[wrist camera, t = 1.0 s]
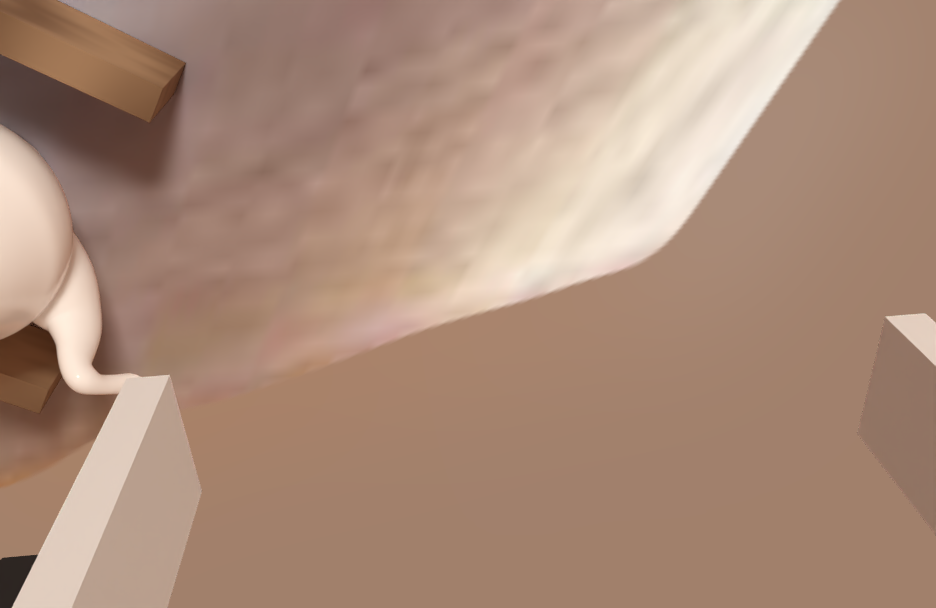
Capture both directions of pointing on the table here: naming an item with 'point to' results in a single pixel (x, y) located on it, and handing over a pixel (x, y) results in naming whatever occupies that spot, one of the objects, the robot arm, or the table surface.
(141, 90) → the bay
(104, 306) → the table surface
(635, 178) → the table surface
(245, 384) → the table surface
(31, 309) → the teapot
